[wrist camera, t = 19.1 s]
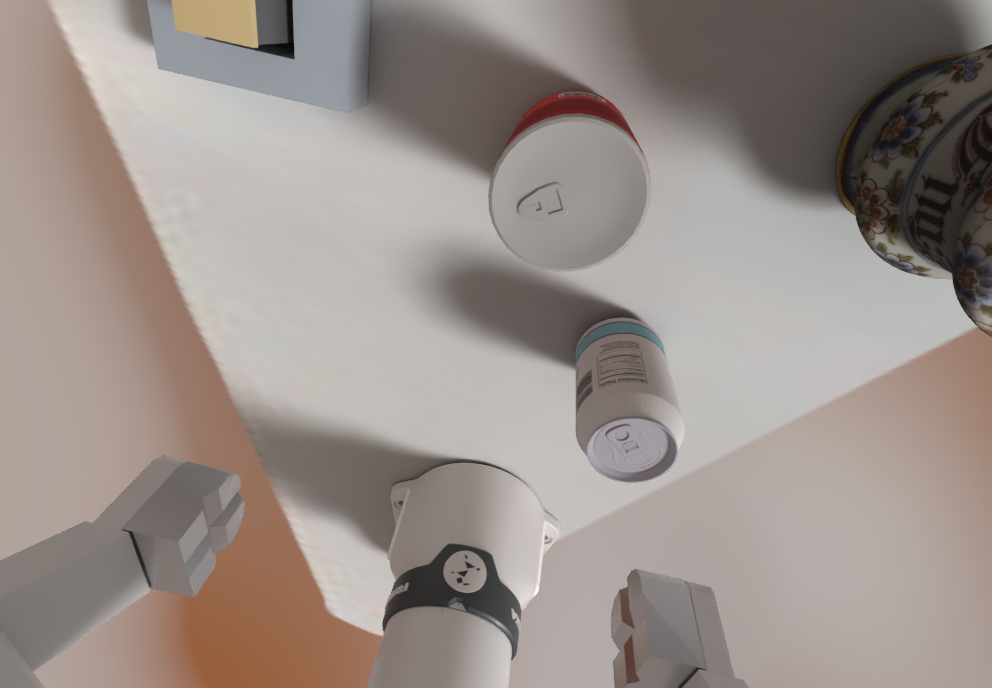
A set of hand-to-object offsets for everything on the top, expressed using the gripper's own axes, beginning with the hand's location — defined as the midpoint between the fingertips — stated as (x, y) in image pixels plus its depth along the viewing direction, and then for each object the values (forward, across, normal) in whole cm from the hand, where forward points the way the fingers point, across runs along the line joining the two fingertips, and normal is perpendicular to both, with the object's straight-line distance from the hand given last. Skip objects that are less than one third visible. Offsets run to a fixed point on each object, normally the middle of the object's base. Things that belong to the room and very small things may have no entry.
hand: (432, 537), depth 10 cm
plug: (+29, +18, -7) cm, 35 cm away
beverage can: (+29, -10, +12) cm, 33 cm away
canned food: (+29, -2, -2) cm, 30 cm away
